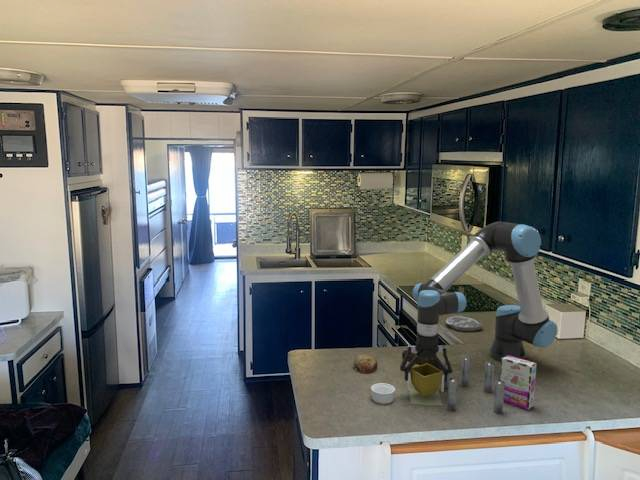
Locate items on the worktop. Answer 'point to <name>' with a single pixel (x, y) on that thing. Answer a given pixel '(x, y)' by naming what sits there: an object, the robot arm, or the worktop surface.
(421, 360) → the brown wood log
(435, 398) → the pad
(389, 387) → the ramekin
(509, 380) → the candy bar box
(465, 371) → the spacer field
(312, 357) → the worktop surface
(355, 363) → the bread roll
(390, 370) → the worktop surface
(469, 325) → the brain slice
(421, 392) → the flower pot
